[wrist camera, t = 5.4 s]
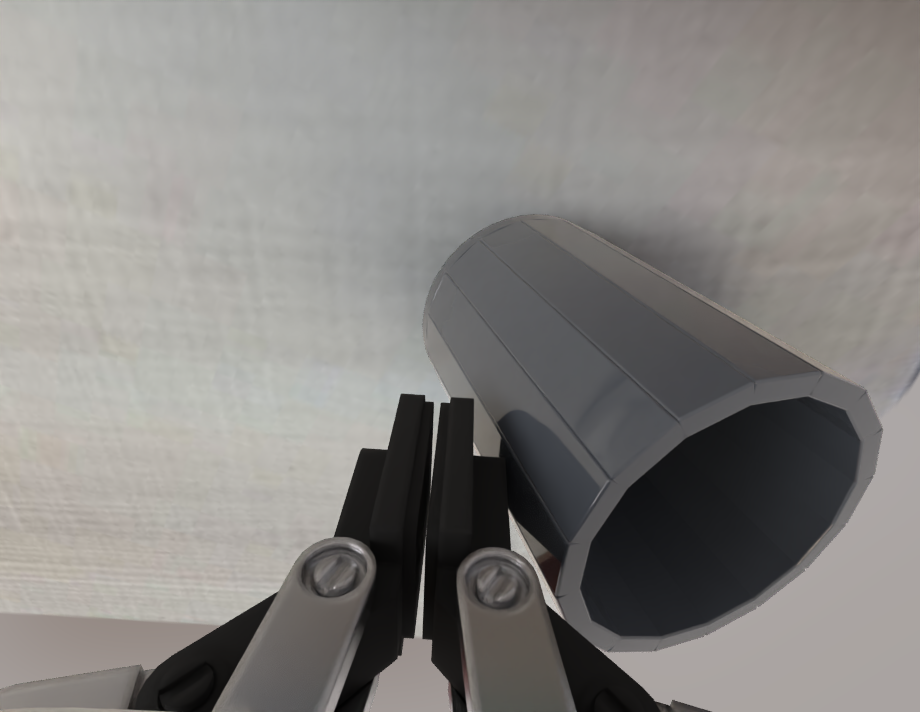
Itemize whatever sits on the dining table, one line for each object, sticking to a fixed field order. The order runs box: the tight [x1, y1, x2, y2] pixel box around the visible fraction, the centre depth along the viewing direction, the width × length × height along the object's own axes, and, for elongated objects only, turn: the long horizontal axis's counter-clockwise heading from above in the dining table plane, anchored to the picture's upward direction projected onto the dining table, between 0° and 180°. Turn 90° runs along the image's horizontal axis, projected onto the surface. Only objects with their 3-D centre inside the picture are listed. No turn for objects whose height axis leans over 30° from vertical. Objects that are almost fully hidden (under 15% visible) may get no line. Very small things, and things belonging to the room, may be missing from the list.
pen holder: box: [423, 214, 883, 652], centre depth 14 cm, size 7×7×10 cm
